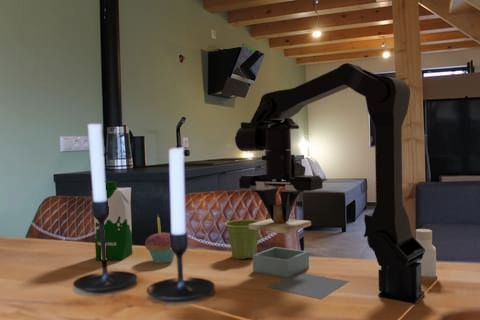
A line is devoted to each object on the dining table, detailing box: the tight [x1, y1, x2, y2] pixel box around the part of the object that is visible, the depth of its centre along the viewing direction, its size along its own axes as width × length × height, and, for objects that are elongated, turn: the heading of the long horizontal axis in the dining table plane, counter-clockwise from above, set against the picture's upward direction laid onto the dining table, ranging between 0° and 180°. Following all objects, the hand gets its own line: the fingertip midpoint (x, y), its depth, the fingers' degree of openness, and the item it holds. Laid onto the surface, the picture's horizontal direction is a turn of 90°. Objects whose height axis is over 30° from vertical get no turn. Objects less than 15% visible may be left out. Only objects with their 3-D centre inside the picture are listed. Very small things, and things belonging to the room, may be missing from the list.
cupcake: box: [144, 215, 175, 264], centre depth 110 cm, size 9×8×12 cm
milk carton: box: [91, 180, 133, 261], centre depth 115 cm, size 9×9×20 cm
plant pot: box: [224, 219, 260, 260], centre depth 111 cm, size 9×9×9 cm
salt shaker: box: [415, 228, 437, 278], centre depth 91 cm, size 4×4×10 cm
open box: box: [252, 246, 310, 278], centre depth 98 cm, size 9×9×4 cm
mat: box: [265, 272, 350, 300], centre depth 87 cm, size 12×12×1 cm
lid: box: [249, 203, 312, 234], centre depth 97 cm, size 10×10×5 cm
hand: (280, 220), depth 97 cm, fingers closed on lid, 3 cm apart
